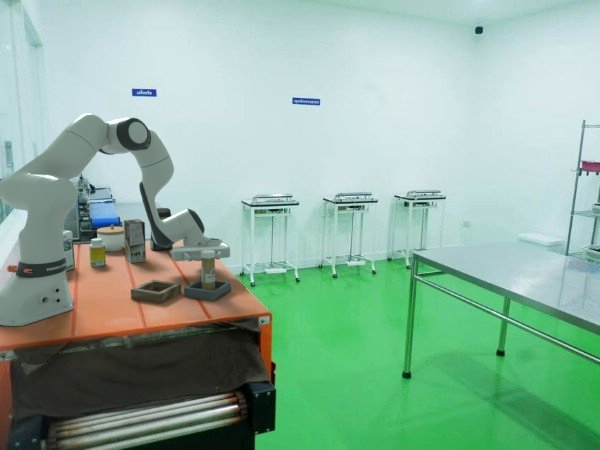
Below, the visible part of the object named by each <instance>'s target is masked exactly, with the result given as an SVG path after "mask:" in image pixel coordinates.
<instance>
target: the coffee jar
mask: <svg viewBox="0 0 600 450" xmlns="http://www.w3.org/2000/svg"><path fill="white" fill-rule="evenodd" d="M156 208H157V207H156ZM157 211H158V215H159V218H160V220H164V219H166V218H168V217H170V216H172V213H171V212H172V211H171V209H170V208H168V207H158V208H157ZM149 245H150V246H149V247H150V249H151V250H152V251H153V250H154V251H167V250H172V249H173V248H174V247H173V245H174V244H173V245H171V246H169V247H168V248H166V247H160V246H158V245H157V244H156V243H155V242H154V240H153V237H152V234H151V233H150V241H149Z"/></svg>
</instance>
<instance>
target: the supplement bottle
mask: <svg viewBox="0 0 600 450" xmlns="http://www.w3.org/2000/svg"><path fill="white" fill-rule="evenodd" d="M90 240H91V241H90V244H89V247H88V249H89V262H90V263H89V264H90V266H92V267H101V266H105V265H106V260H107V258H106V251H105V244H103V241H102V239H101V238H98V237H95V238H92V239H90Z"/></svg>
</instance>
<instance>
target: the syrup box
mask: <svg viewBox="0 0 600 450" xmlns="http://www.w3.org/2000/svg"><path fill="white" fill-rule="evenodd" d="M73 237H74V236H73V231H72V230H68V229H63V248H64V256H65V257H66V266H67V269H66V270H65V271H66V272H67V271H70V270H73V269H75V268H76V260H75V250H74V238H73Z"/></svg>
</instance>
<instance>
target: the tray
mask: <svg viewBox="0 0 600 450" xmlns="http://www.w3.org/2000/svg"><path fill="white" fill-rule="evenodd" d="M230 292H232V282H231V281H224V280H218V279H215V290H214V291H210V290H203V289H202V278H199V279H198V280H196V281H194V282H192V283H190V284H188V285H187V286H184V287H183V297H184V298H190V299H197V300H201V301H202V300H203V301H209V302H214V303H215V302H217V301H218V300H219V299H220V298H222V297H224V296H226V295H228V293H230Z"/></svg>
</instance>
